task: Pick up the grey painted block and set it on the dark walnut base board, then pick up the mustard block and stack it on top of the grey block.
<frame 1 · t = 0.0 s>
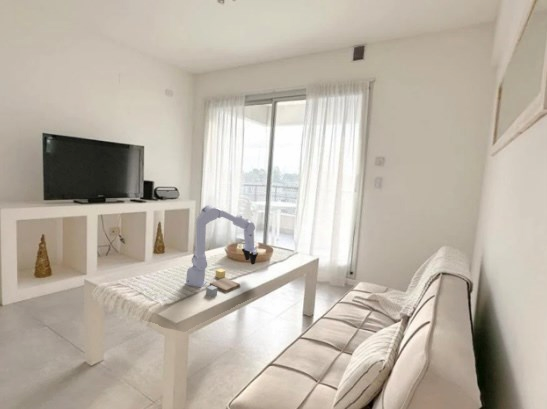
hand: (250, 261, 185), 10 cm above the table, tool pointing down, fingers open, 7 cm apart
mustard block: (220, 276, 183), on the table
grey block: (211, 294, 158), on the table
walnut base: (224, 286, 171), on the table
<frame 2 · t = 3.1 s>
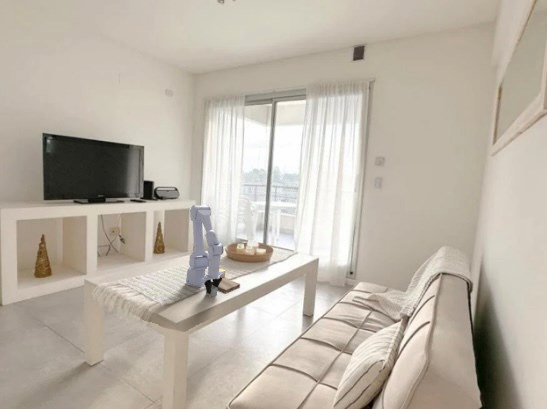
hand: (211, 292, 158), 1 cm above the table, tool pointing down, fingers closed on grey block, 4 cm apart
grey block: (211, 294, 158), on the table, touching gripper
everything else where it was.
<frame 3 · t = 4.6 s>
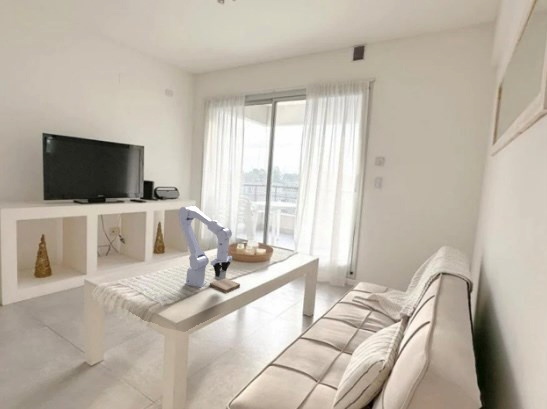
hand: (220, 275, 164), 8 cm above the table, tool pointing down, fingers closed on grey block, 4 cm apart
grey block: (220, 278, 164), point 7 cm above the table, touching gripper
everything else where it was.
when the fingers open (4 cm above the table, at t = 6.3 s): grey block stays where it is, resting on walnut base.
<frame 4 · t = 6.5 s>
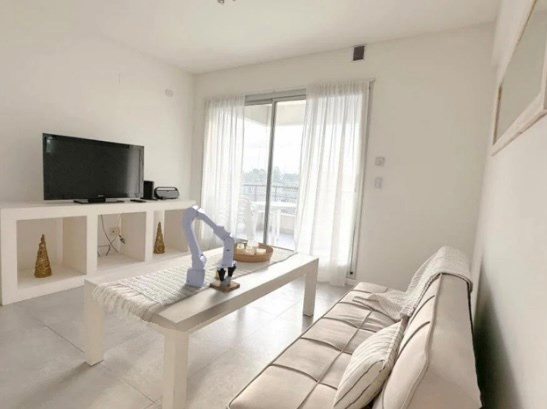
hand: (225, 279, 170), 4 cm above the table, tool pointing down, fingers open, 6 cm apart
grey block: (225, 283, 170), point 1 cm above the table, touching walnut base
everything else where it was.
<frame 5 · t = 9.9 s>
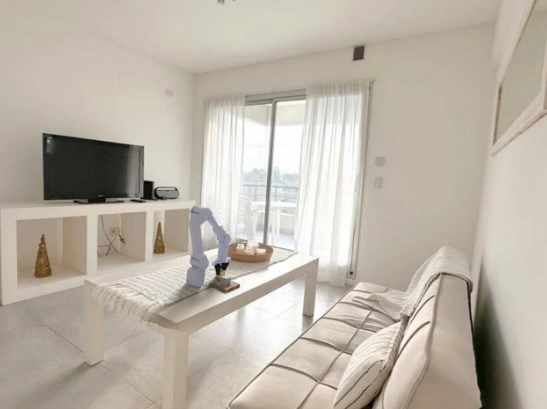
hand: (220, 274, 183), 1 cm above the table, tool pointing down, fingers closed on mustard block, 4 cm apart
mustard block: (220, 276, 183), on the table, touching gripper
everything else where it was.
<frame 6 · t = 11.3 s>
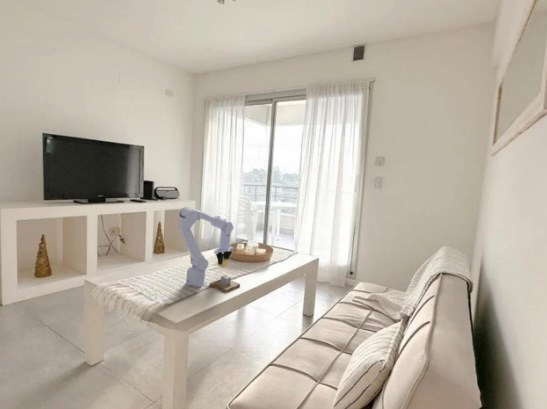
hand: (222, 263, 179), 9 cm above the table, tool pointing down, fingers closed on mustard block, 4 cm apart
mustard block: (222, 265, 179), point 8 cm above the table, touching gripper
everything else where it was.
when the fingers open (8 cm above the table, at t = 12.8 s): mustard block stays where it is, resting on grey block.
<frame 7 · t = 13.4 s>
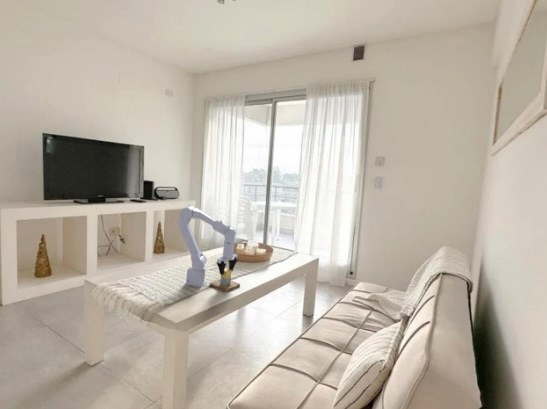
hand: (226, 272, 169), 8 cm above the table, tool pointing down, fingers open, 7 cm apart
mustard block: (225, 276, 170), point 5 cm above the table, touching grey block
grey block: (225, 283, 170), point 1 cm above the table, touching mustard block, walnut base
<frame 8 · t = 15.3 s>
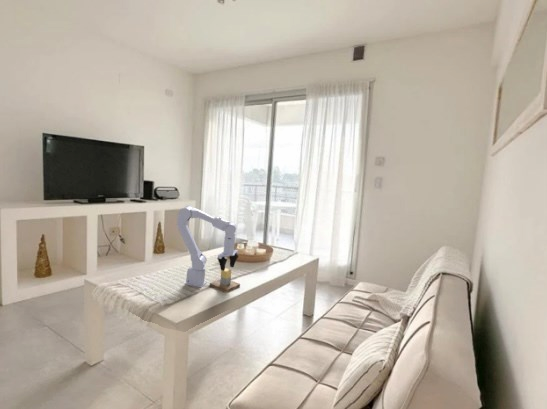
hand: (227, 268, 169), 10 cm above the table, tool pointing down, fingers open, 7 cm apart
nothing on the table moved.
at the end: grey block 0.1 cm off-centre on the walnut base, point 1.5 cm above the walnut base's base; mustard block 0.0 cm off-centre on the walnut base, point 5.5 cm above the walnut base's base; mustard block tilted 0° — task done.
